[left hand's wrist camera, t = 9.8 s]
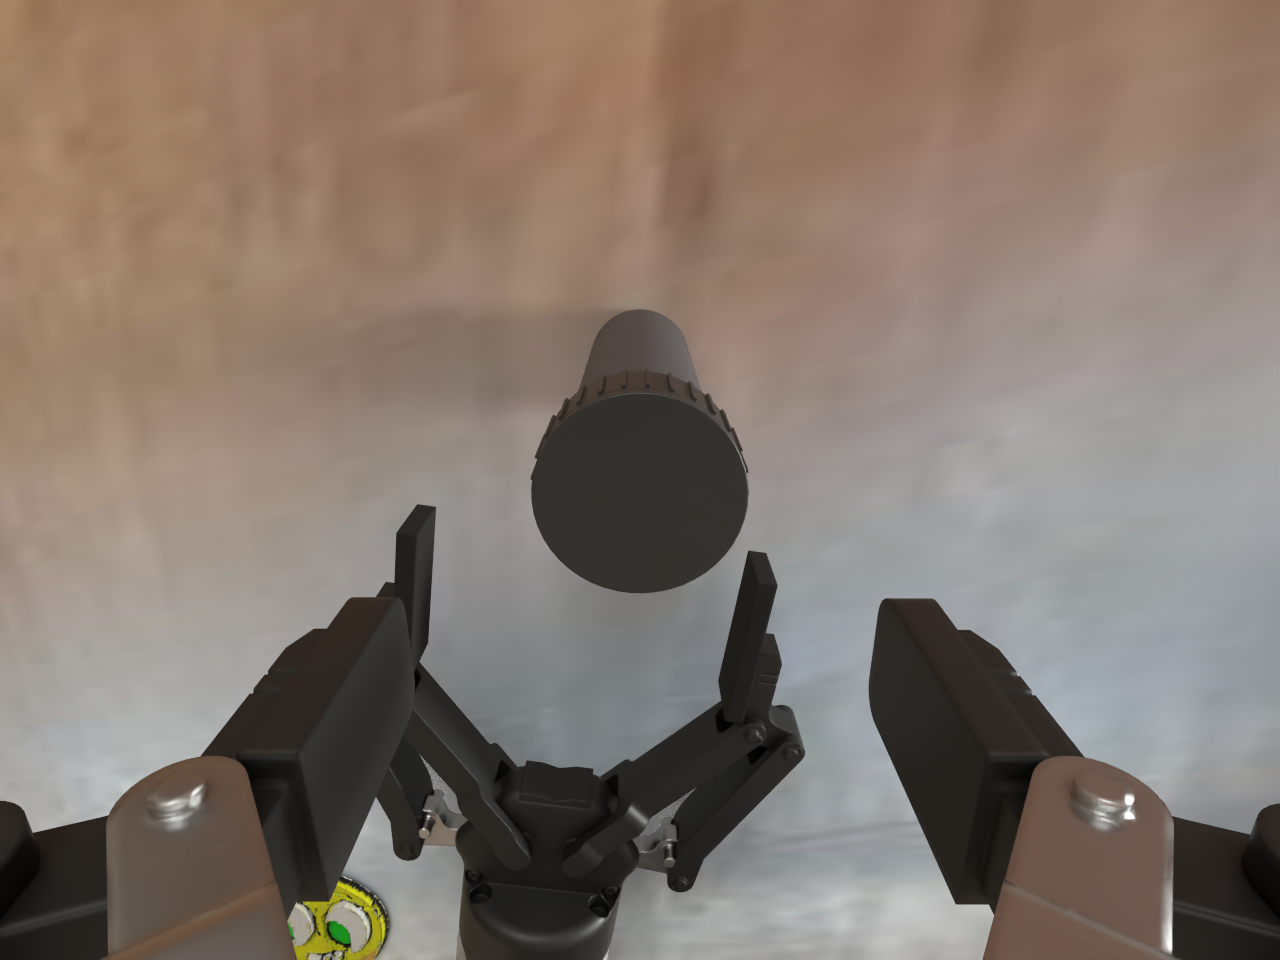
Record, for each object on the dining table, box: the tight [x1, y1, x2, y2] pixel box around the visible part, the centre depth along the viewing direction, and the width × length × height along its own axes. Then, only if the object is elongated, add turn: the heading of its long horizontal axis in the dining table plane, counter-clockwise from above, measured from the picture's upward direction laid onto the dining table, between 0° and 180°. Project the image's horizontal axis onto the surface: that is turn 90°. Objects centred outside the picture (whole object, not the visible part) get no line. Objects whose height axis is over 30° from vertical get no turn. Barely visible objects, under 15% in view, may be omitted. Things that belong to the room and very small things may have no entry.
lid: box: [531, 369, 749, 593], centre depth 19 cm, size 5×5×2 cm
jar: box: [578, 310, 702, 392], centre depth 25 cm, size 4×4×16 cm
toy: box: [287, 875, 389, 960], centre depth 46 cm, size 10×1×15 cm
